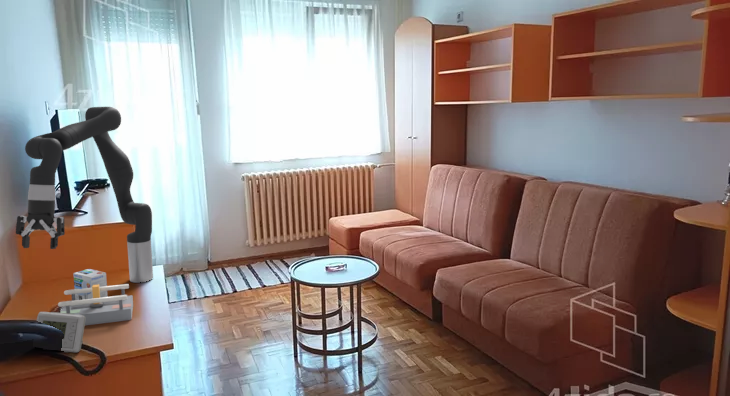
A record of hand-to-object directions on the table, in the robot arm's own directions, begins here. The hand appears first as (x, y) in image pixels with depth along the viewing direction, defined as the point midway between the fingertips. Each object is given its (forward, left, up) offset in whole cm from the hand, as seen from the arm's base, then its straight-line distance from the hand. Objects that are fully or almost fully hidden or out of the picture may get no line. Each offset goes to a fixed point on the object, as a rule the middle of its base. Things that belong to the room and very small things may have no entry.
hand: (39, 248), depth 169 cm
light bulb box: (-22, +11, -27) cm, 37 cm away
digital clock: (+20, +7, -27) cm, 34 cm away
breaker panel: (-3, +15, -27) cm, 31 cm away
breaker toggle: (-3, +15, -23) cm, 27 cm away
